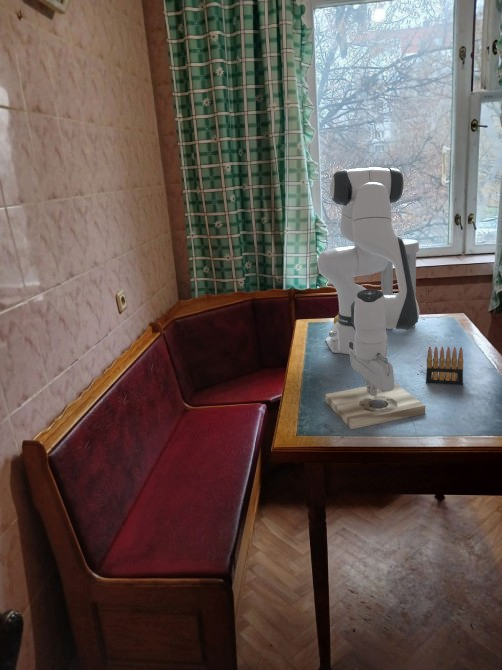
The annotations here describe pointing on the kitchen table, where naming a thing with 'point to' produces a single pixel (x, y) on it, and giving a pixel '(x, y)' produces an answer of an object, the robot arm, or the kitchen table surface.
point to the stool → (387, 273)
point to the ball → (379, 404)
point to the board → (359, 410)
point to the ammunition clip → (445, 367)
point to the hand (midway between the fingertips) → (371, 393)
